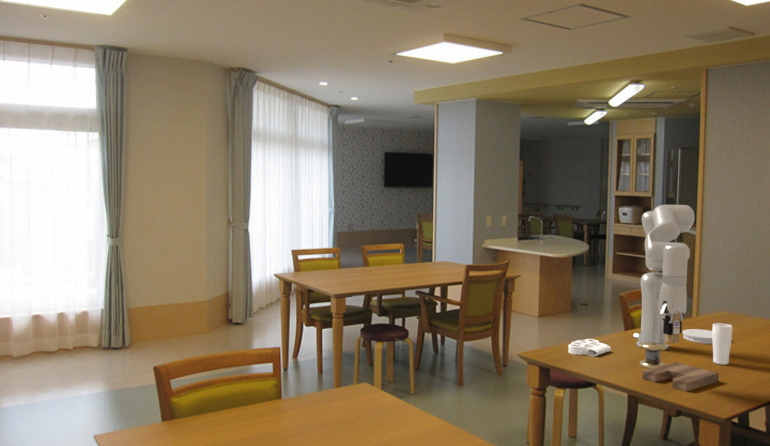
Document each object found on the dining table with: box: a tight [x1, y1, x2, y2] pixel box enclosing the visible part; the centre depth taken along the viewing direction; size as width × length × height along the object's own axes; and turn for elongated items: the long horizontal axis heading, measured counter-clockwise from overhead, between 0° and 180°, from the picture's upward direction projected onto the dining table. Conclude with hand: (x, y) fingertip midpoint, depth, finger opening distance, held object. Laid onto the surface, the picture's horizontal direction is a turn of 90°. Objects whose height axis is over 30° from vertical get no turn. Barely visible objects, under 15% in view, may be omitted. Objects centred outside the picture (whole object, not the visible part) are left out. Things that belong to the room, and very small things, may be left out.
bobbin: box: [639, 342, 667, 369], centre depth 233 cm, size 9×9×8 cm
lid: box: [682, 328, 713, 345], centre depth 276 cm, size 17×20×3 cm
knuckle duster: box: [567, 338, 612, 357], centre depth 254 cm, size 3×18×15 cm
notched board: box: [642, 361, 720, 392], centre depth 216 cm, size 16×20×3 cm
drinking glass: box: [711, 322, 733, 366], centre depth 237 cm, size 7×7×15 cm
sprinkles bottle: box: [665, 308, 681, 344], centre depth 211 cm, size 5×5×14 cm
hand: (672, 332), depth 212 cm, fingers closed on sprinkles bottle, 4 cm apart
